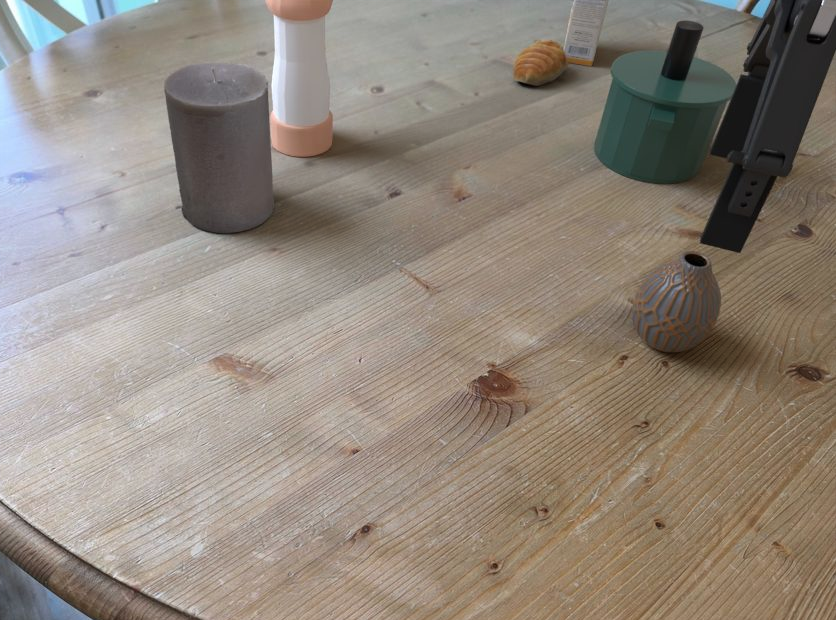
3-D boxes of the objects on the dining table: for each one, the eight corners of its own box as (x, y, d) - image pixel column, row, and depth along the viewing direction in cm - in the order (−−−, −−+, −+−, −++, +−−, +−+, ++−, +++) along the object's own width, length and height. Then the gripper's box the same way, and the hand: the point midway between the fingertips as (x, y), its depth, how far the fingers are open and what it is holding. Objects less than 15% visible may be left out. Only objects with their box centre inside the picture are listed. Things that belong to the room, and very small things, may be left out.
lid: (734, 74, 88) (757, 15, 83) (730, 124, 79) (756, 61, 74) (617, 52, 91) (633, -6, 86) (600, 97, 82) (617, 35, 77)
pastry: (545, 94, 102) (551, 66, 99) (499, 81, 104) (504, 54, 102) (568, 70, 108) (574, 43, 105) (525, 59, 110) (529, 32, 108)
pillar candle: (164, 220, 77) (138, 78, 66) (212, 174, 84) (196, 39, 73) (248, 244, 75) (235, 101, 64) (291, 195, 81) (286, 59, 71)
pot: (704, 134, 96) (732, 61, 89) (695, 205, 83) (727, 126, 77) (605, 113, 98) (625, 41, 92) (582, 179, 86) (603, 101, 80)
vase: (701, 373, 64) (741, 294, 58) (620, 352, 66) (650, 273, 60) (702, 322, 69) (739, 245, 63) (626, 304, 70) (655, 227, 64)
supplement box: (565, 41, 116) (585, -52, 106) (596, 46, 115) (620, -47, 106) (559, 62, 110) (580, -34, 101) (592, 67, 109) (616, -29, 100)
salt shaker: (281, 123, 93) (274, -44, 79) (338, 131, 92) (341, -37, 79) (263, 152, 88) (253, -22, 74) (324, 161, 87) (324, -14, 73)
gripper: (790, -171, 52) (684, 117, 66) (803, -85, 34) (657, 277, 49) (909, -156, 50) (774, 136, 65) (985, -59, 33) (777, 308, 47)
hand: (723, 197), depth 57 cm, fingers open, 13 cm apart
